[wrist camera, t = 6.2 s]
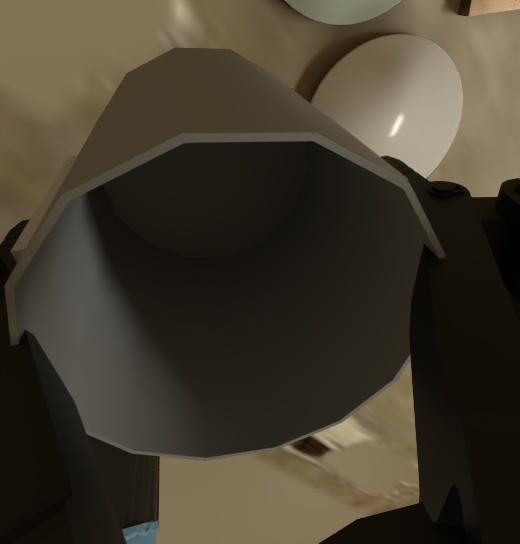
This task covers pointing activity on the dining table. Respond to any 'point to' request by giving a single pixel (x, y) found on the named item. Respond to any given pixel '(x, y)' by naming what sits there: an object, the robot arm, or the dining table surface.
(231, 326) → the cup
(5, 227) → the dining table surface
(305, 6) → the dish green
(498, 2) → the balance
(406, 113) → the white dome
